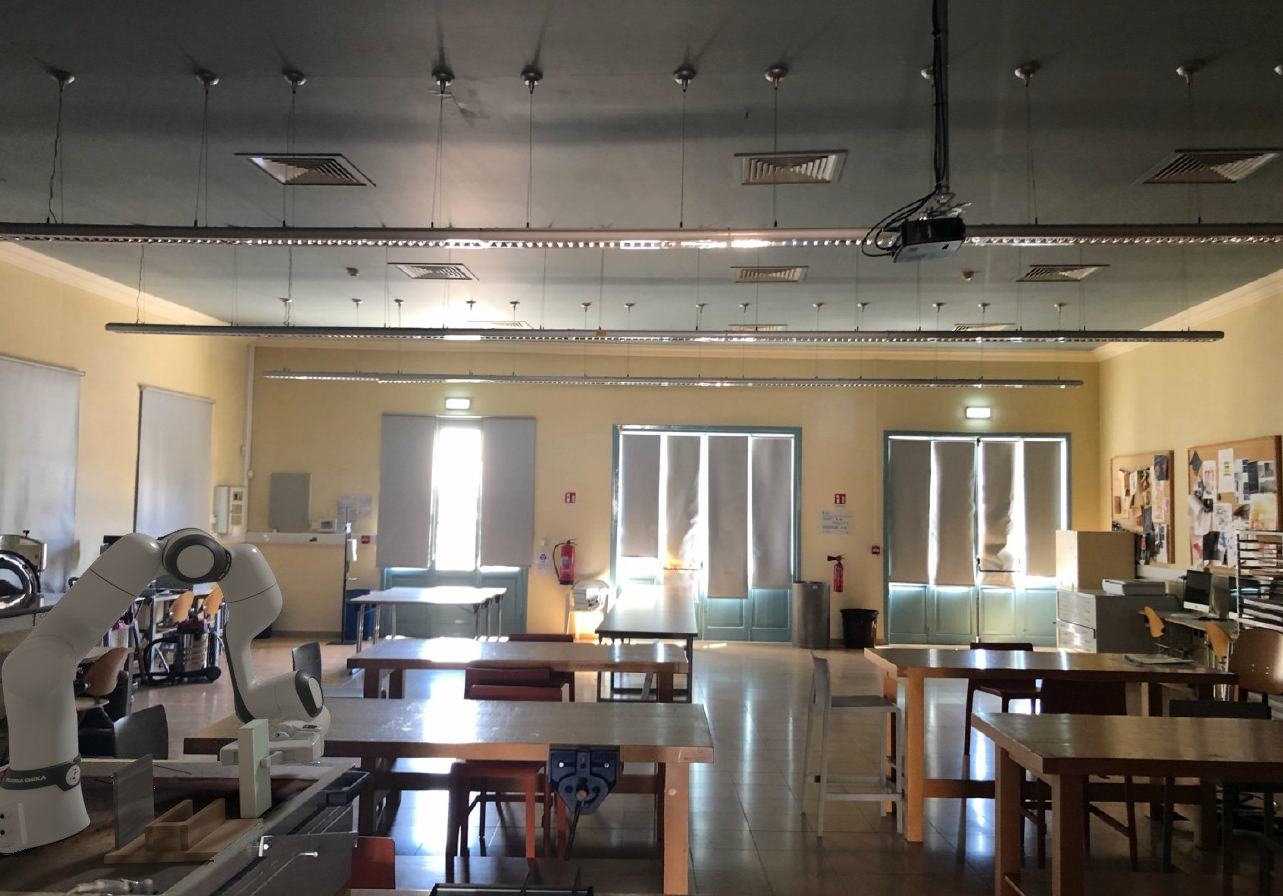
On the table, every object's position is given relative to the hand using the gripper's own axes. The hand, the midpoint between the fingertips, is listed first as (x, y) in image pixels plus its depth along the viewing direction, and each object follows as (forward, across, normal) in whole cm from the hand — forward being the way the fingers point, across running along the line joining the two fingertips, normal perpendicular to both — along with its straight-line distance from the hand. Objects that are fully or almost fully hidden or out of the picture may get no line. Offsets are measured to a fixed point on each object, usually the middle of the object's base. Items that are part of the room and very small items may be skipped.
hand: (252, 764), depth 166 cm
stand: (+13, -6, +10) cm, 18 cm away
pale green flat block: (-1, 0, +10) cm, 10 cm away
